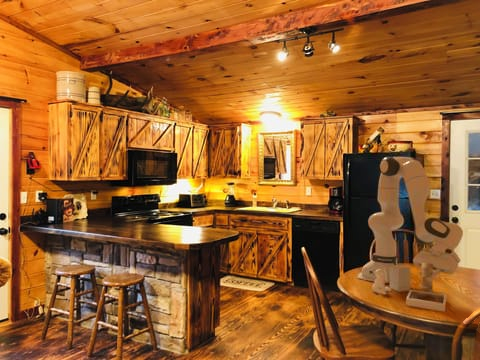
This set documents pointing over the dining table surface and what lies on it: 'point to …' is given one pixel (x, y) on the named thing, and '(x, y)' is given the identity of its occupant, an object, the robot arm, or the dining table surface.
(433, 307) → the open box
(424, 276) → the birch peg
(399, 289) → the supplement box
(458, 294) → the dining table surface
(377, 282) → the seated beast figurine
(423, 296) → the bore plate
